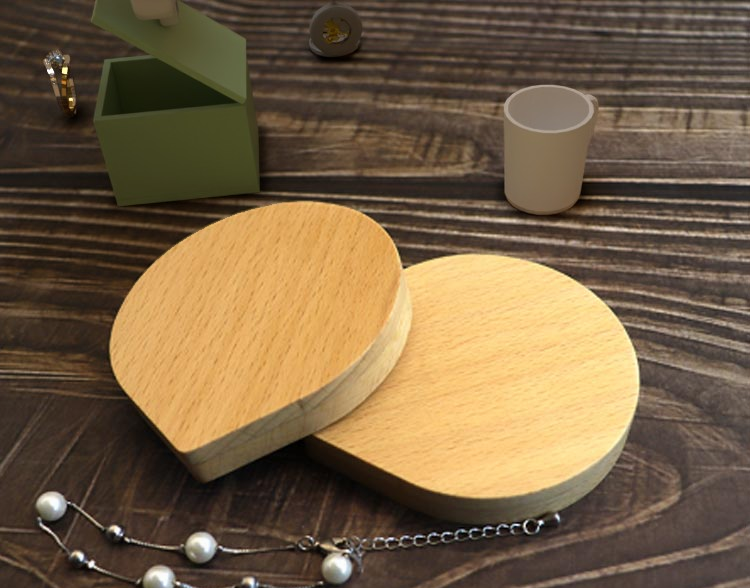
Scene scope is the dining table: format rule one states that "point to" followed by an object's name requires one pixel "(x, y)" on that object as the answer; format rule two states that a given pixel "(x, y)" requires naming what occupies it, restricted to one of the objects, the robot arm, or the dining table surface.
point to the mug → (546, 147)
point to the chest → (173, 134)
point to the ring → (67, 82)
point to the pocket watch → (335, 30)
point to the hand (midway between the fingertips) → (170, 19)
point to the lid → (182, 44)
